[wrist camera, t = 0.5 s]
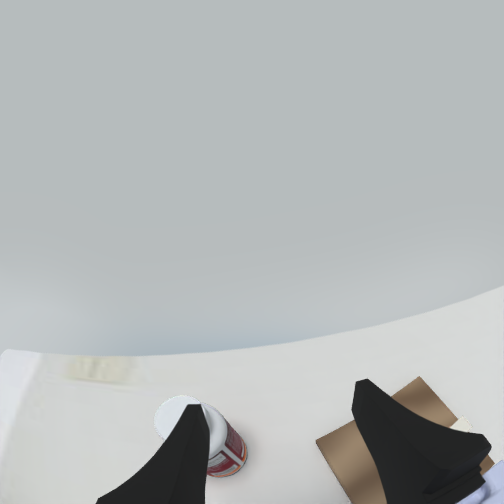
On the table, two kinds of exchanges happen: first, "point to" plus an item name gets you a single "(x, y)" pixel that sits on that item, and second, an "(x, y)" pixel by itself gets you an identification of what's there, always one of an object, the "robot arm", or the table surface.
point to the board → (358, 456)
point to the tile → (461, 425)
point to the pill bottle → (221, 435)
